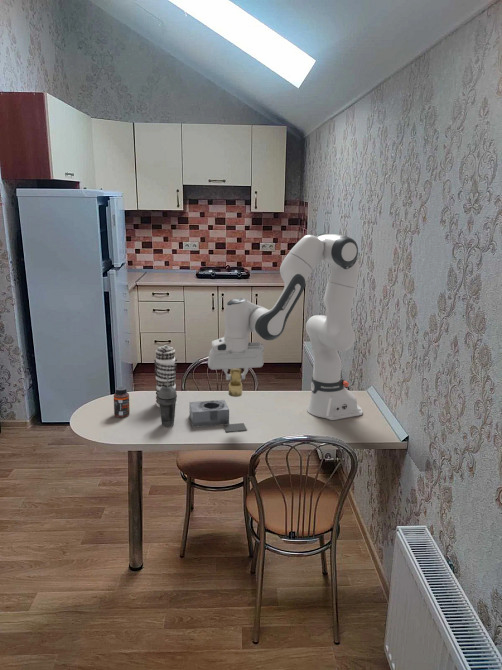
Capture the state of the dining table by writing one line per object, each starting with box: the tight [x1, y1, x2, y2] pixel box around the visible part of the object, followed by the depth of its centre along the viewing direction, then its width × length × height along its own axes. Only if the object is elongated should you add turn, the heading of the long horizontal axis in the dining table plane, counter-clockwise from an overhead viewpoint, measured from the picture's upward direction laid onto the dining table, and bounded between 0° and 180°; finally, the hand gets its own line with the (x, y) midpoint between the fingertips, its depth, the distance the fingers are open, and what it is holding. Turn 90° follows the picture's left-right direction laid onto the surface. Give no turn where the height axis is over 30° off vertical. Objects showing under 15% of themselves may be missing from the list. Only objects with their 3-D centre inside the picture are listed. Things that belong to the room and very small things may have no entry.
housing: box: [188, 399, 230, 428], centre depth 203 cm, size 14×10×6 cm
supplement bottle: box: [113, 386, 131, 419], centre depth 205 cm, size 6×6×11 cm
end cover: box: [228, 368, 243, 398], centre depth 193 cm, size 5×5×10 cm
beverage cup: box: [158, 376, 178, 428], centre depth 197 cm, size 7×7×20 cm
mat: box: [222, 422, 248, 433], centre depth 197 cm, size 8×6×1 cm
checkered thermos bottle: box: [153, 344, 178, 408], centre depth 215 cm, size 9×9×25 cm
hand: (235, 379), depth 192 cm, fingers closed on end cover, 4 cm apart
